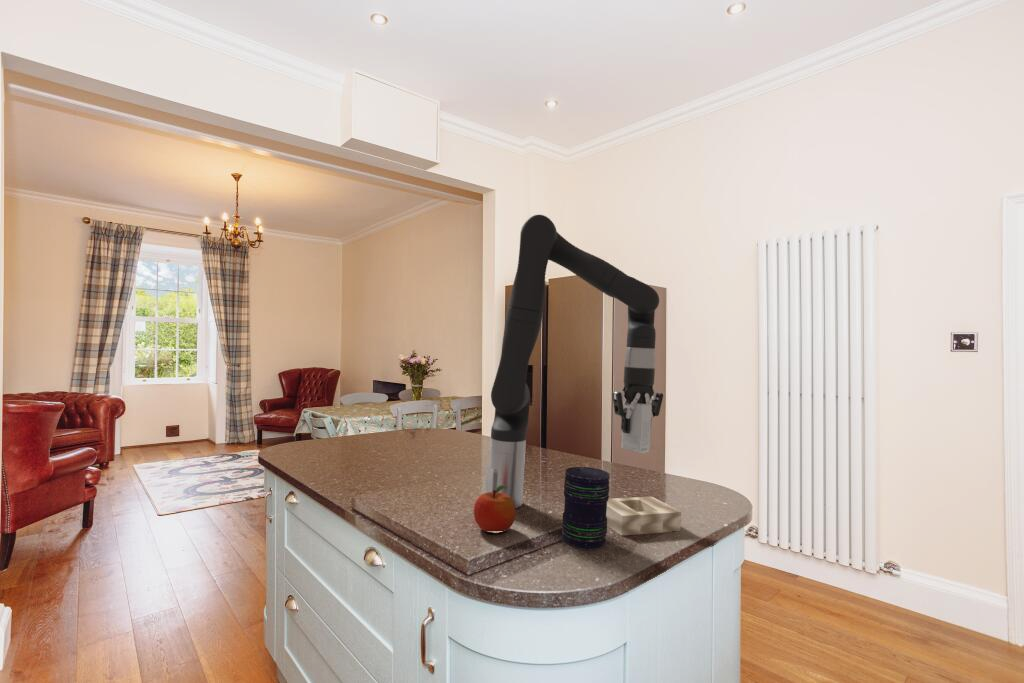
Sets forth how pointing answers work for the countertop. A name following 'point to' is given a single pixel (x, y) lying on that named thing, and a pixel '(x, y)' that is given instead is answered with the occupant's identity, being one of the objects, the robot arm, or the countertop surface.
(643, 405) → the skincare box
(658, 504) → the well block
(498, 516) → the fruit
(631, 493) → the countertop surface
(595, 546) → the storage jar
